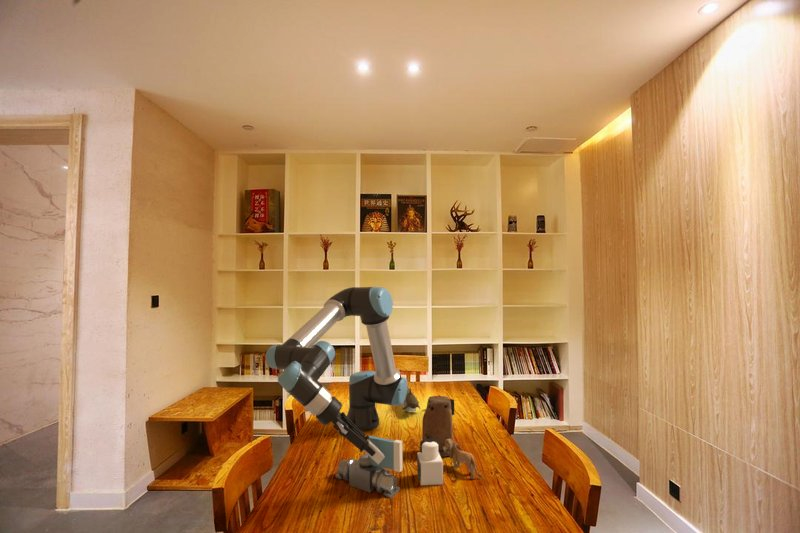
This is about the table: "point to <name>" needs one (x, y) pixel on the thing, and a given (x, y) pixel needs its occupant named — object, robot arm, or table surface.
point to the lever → (385, 454)
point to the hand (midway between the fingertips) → (380, 459)
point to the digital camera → (452, 406)
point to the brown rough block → (438, 421)
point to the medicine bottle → (429, 463)
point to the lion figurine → (460, 456)
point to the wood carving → (410, 402)
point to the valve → (368, 477)
